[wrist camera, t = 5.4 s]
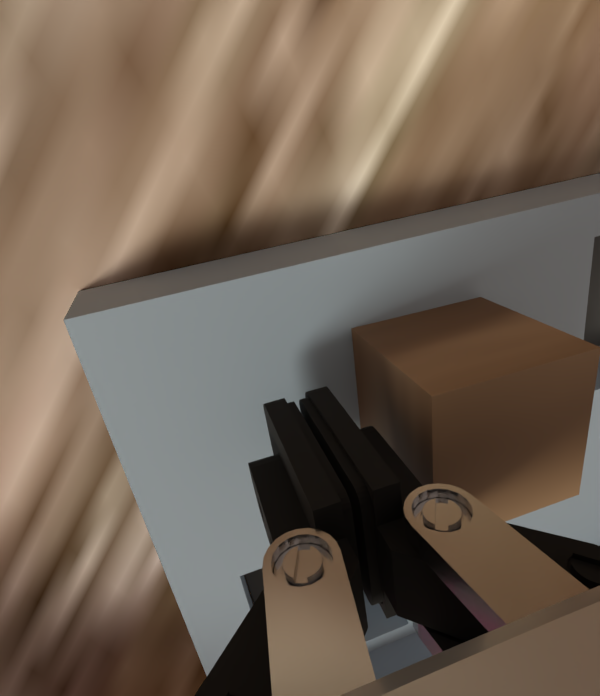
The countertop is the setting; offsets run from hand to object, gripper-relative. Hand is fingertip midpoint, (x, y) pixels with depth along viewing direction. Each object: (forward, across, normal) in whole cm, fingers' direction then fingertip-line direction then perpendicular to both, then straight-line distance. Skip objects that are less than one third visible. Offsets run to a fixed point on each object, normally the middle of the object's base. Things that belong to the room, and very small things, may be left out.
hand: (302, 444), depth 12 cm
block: (+1, -4, 0) cm, 4 cm away
